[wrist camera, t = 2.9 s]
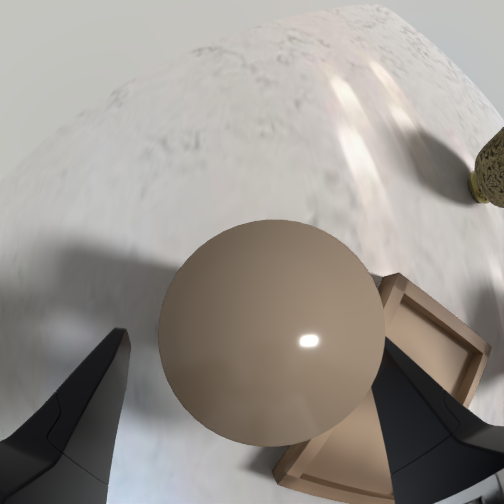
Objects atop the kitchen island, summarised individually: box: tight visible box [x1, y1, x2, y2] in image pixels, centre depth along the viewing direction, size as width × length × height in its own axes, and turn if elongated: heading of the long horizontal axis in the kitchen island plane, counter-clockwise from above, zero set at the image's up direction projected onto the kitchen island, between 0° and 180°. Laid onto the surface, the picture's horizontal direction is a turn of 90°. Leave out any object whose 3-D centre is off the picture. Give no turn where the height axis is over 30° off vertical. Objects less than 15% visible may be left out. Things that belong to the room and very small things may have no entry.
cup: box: [468, 127, 504, 208], centre depth 20 cm, size 8×7×8 cm
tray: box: [272, 273, 491, 504], centre depth 17 cm, size 16×13×2 cm
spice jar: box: [158, 220, 385, 447], centre depth 12 cm, size 5×5×12 cm
